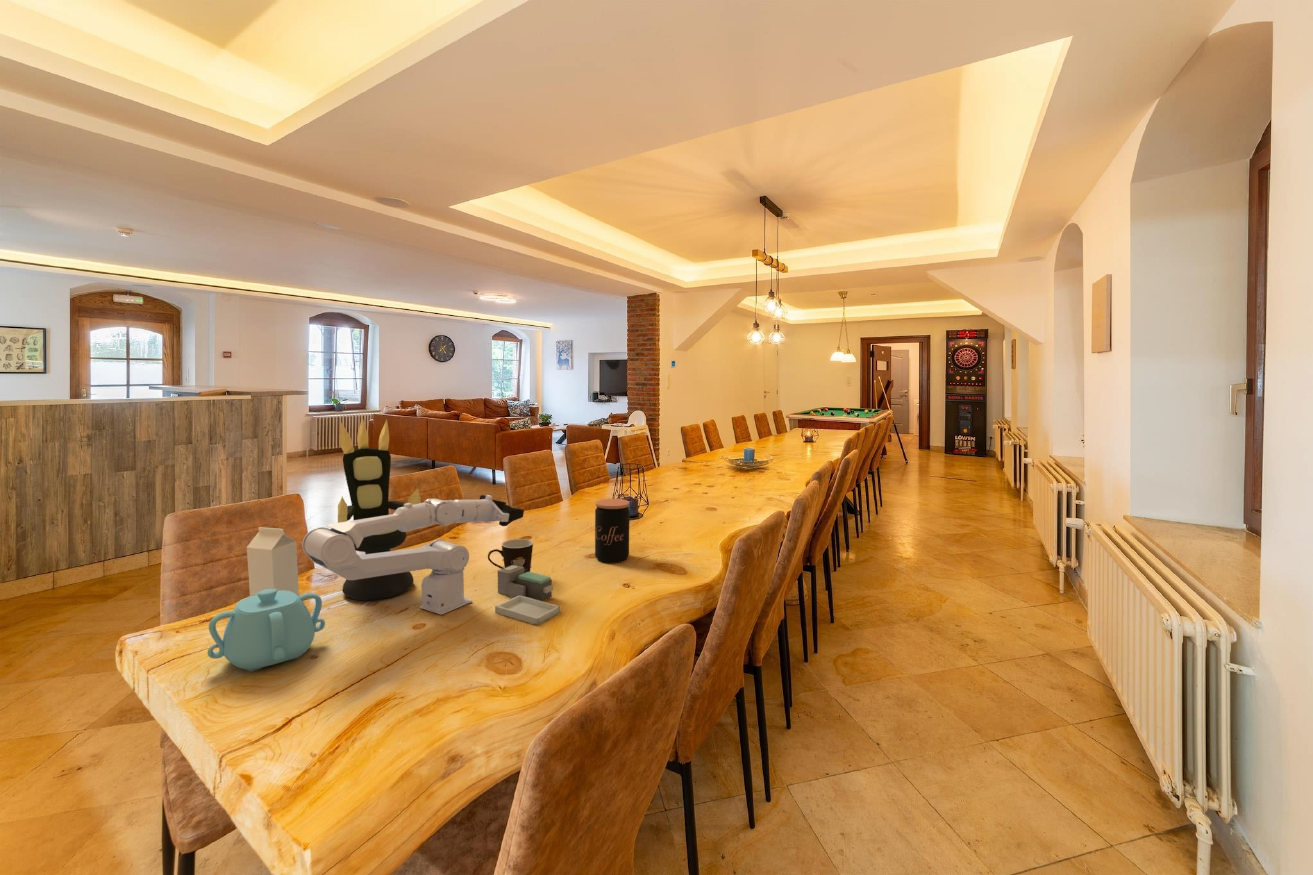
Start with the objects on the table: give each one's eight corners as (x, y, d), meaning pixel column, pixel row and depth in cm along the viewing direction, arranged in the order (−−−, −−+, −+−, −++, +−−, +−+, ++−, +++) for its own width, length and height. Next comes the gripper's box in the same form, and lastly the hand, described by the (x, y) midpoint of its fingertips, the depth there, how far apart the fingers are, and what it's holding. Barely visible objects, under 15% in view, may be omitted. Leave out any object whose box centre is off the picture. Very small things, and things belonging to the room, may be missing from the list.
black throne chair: (343, 610, 134) (335, 423, 129) (326, 583, 151) (318, 417, 146) (425, 592, 146) (420, 420, 141) (400, 569, 163) (395, 415, 158)
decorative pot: (196, 674, 105) (191, 604, 104) (266, 635, 121) (262, 574, 119) (275, 681, 103) (270, 610, 101) (335, 640, 119) (332, 579, 117)
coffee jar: (589, 561, 172) (589, 504, 170) (602, 551, 182) (603, 497, 180) (621, 565, 169) (622, 507, 167) (633, 555, 179) (634, 500, 177)
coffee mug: (537, 573, 161) (537, 539, 160) (527, 584, 153) (527, 548, 152) (498, 571, 162) (498, 537, 161) (486, 582, 154) (486, 546, 153)
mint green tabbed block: (544, 603, 140) (544, 582, 140) (517, 596, 145) (517, 575, 144) (554, 598, 144) (554, 577, 143) (528, 591, 148) (528, 571, 148)
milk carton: (275, 610, 133) (270, 533, 131) (250, 608, 135) (245, 531, 133) (299, 599, 140) (295, 525, 138) (275, 596, 142) (271, 523, 140)
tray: (537, 625, 128) (537, 618, 127) (495, 612, 134) (495, 606, 134) (560, 612, 135) (560, 606, 134) (519, 601, 141) (519, 595, 141)
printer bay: (523, 600, 142) (523, 576, 141) (497, 593, 146) (496, 569, 145) (542, 591, 148) (542, 568, 147) (516, 584, 152) (516, 562, 152)
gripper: (491, 502, 137) (533, 502, 148) (457, 488, 146) (500, 489, 157) (485, 530, 138) (528, 528, 148) (452, 514, 146) (495, 513, 157)
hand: (513, 509), depth 153 cm, fingers open, 7 cm apart
